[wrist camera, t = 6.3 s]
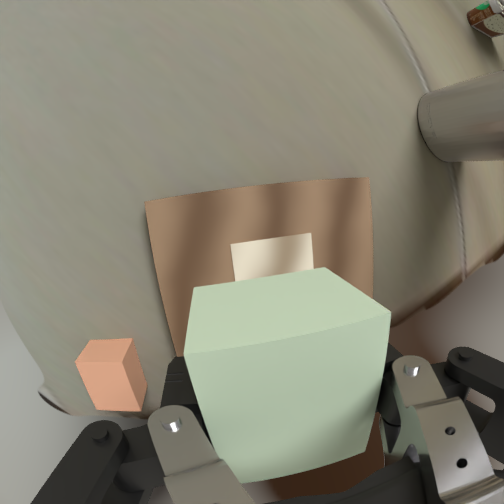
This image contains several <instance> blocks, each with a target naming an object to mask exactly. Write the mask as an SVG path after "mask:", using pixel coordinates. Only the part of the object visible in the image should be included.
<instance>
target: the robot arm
mask: <svg viewBox="0 0 504 504" xmlns="http://www.w3.org/2000/svg"><path fill="white" fill-rule="evenodd" d="M418 120H419V125H420V129H421V132H422V135H423V138H424V140H425V142H426V144H427V145H428V147H429V148H430V150H431V151H432V152H433V154H434V155H435V156H436V157H438V158H439V159H440V160H442V161H445V162H461V161H496V160H504V70H502V71H498V72H494V73H490V74H487V75H483V76H479V77H476V78H473V79H469V80H466V81H463V82H460V83H456V84H453V85H450V86H447V87H444V88H441V89H438V90H435V91H432V92H430V93H427V94H425V95H424V96H423V97H422V98H421V100H420V102H419V106H418ZM165 382H166V383H165V385H164V390H163V395H162V401H161V407H160V409H158V410H156V411H155V412H153V413H152V414H151V416H150V417H149V419H148V424H146V425H144V426H141V427H137V428H132V429H128V430H123V431H122V429H121V428H120V426H119V425H118V424H116V423H114V422H112V421H107V420H101V421H96V422H93V423H91V424H89V425H88V426H87V427H86V428H85V429H84V430H83V431H82V432H81V434H80V435H79V436H78V438H77V439H76V441H75V442H74V443H73V444H72V446H71V447H70V449H69V450H68V451H67V453H66V454H65V456H64V457H63V458H62V460H61V461H60V463H59V464H58V465H57V467H56V468H55V469H54V471H53V472H52V474H51V475H50V477H49V478H48V480H47V481H46V482H45V484H44V485H43V487H42V488H41V489H40V491H39V492H38V494H37V495H36V497H35V498H34V500H33V501H32V503H31V504H147V503H148V501H149V499H150V496H151V494H152V491H153V489H154V488H155V487H159V486H163V485H166V487H167V489H168V492H169V494H170V496H171V498H172V501H173V503H174V504H255V502H254V501H253V500H252V498H251V497H250V496H249V494H248V493H247V492H246V490H245V489H244V488H243V486H242V485H241V483H240V482H239V481H238V479H237V478H236V476H235V475H234V473H233V472H232V470H231V469H230V467H229V466H228V465H227V463H226V462H225V461H224V460H223V459H222V458H221V459H220V458H219V456H218V455H217V453H216V452H215V449H214V447H213V444H212V441H211V439H210V436H209V433H208V430H207V428H206V425H205V422H204V419H203V416H202V413H201V410H200V407H199V404H198V401H197V398H196V395H195V392H194V388H193V385H192V382H191V378H190V375H189V372H188V368H187V365H186V361H185V358H184V356H180V357H175V358H174V359H173V360H172V361H171V363H170V364H169V365H168V370H167V375H166V380H165ZM471 388H472V389H474V390H476V391H478V392H479V393H481V394H483V395H485V396H487V397H489V398H491V399H492V400H493V401H494V402H495V405H496V407H495V411H494V412H493V413H490V412H488V411H486V410H484V409H482V408H480V407H478V406H477V405H475V404H473V403H471V402H470V401H468V400H466V399H467V396H468V394H469V392H470V389H471ZM376 412H379V413H380V414H381V416H380V420H379V426H380V432H381V438H382V444H383V451H384V458H385V465H384V468H382V469H380V470H377V471H376V472H375V473H373V474H372V475H370V476H369V477H367V478H366V479H364V480H363V481H361V482H360V483H358V484H357V485H355V486H354V487H352V488H350V489H349V490H347V491H345V492H342V493H335V494H326V495H315V496H300V497H295V498H291V499H286V500H281V501H277V502H271V503H265V504H504V469H503V470H495V469H492V466H491V463H490V461H489V458H488V456H487V454H488V455H489V456H491V457H493V458H494V459H496V460H498V461H499V462H501V463H503V464H504V363H503V362H501V361H499V360H497V359H494V358H492V357H490V356H488V355H485V354H483V353H481V352H479V351H476V350H474V349H472V348H469V347H457V348H454V349H452V350H451V351H450V352H449V354H448V357H447V361H446V362H441V363H436V364H429V362H428V361H427V360H425V359H424V358H422V357H419V356H413V355H409V356H403V355H402V354H401V353H400V352H398V351H397V350H396V349H395V348H394V347H393V346H392V345H390V344H389V343H388V346H387V353H386V360H385V366H384V372H383V378H382V383H381V388H380V393H379V398H378V403H377V407H376V411H375V413H376Z"/></svg>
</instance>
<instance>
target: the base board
mask: <svg viewBox="0 0 504 504" xmlns="http://www.w3.org/2000/svg"><path fill="white" fill-rule="evenodd" d="M145 209H146V216H147V223H148V229H149V235H150V241H151V247H152V252H153V258H154V263H155V268H156V273H157V278H158V283H159V287H160V292H161V296H162V301H163V305H164V309H165V313H166V317H167V321H168V325H169V329H170V333H171V337H172V340H173V344H174V348H175V351H176V355H177V357H180V356H184V347H185V340H186V333H187V326H188V320H189V313H190V307H191V301H192V295H193V289H194V287H200V286H207V285H214V284H221V283H228V282H235V281H241V280H248V279H254V278H261V277H267V276H274V275H280V274H286V273H292V272H298V271H304V270H310V269H316V268H322V267H325V268H327V269H328V270H330V271H331V272H333V273H334V274H336V275H338V276H339V277H341V278H342V279H343V280H345V281H346V282H348V283H349V284H351V285H352V286H354V287H355V288H357V289H358V290H360V291H361V292H363V293H364V294H366V295H367V296H369V297H370V298H372V299H373V228H372V209H371V195H370V184H369V177H364V178H342V179H325V180H311V181H298V182H287V183H276V184H266V185H257V186H248V187H239V188H231V189H223V190H216V191H208V192H201V193H195V194H188V195H181V196H175V197H169V198H163V199H157V200H152V201H146V202H145Z"/></svg>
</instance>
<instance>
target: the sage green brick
mask: <svg viewBox="0 0 504 504" xmlns="http://www.w3.org/2000/svg"><path fill="white" fill-rule="evenodd" d="M390 320H391V311H389V310H388V309H386V308H385V307H383V306H382V305H380V304H379V303H377V302H376V301H375V300H373V299H372V298H370V297H369V296H367V295H366V294H364V293H363V292H361V291H360V290H358V289H357V288H355V287H354V286H352V285H351V284H349V283H348V282H346V281H345V280H343V279H342V278H341V277H339V276H338V275H336V274H334V273H333V272H331V271H330V270H328V269H327V268H325V267H322V268H316V269H310V270H304V271H298V272H292V273H286V274H280V275H274V276H267V277H261V278H254V279H248V280H241V281H235V282H228V283H221V284H214V285H207V286H200V287H194V289H193V295H192V301H191V307H190V313H189V320H188V326H187V333H186V340H185V347H184V358H185V361H186V365H187V368H188V372H189V375H190V378H191V382H192V385H193V388H194V392H195V395H196V398H197V401H198V404H199V407H200V410H201V413H202V416H203V419H204V422H205V425H206V428H207V430H208V433H209V436H210V439H211V441H212V444H213V447H214V449H215V452H216V453H217V455H218V456H219V458H220V459H221V458H222V459H223V460H224V461H225V462H226V463H227V465H228V466H229V467H230V469H231V470H232V472H233V473H234V475H235V476H236V478H237V479H238V481H239V482H240V483H249V482H255V481H261V480H266V479H272V478H277V477H282V476H286V475H291V474H295V473H299V472H303V471H307V470H311V469H314V468H318V467H321V466H324V465H328V464H331V463H334V462H337V461H340V460H343V459H346V458H349V457H351V456H354V455H357V454H359V453H362V452H364V451H365V449H366V445H367V442H368V438H369V435H370V431H371V427H372V423H373V420H374V415H375V411H376V407H377V403H378V398H379V393H380V388H381V383H382V378H383V372H384V366H385V360H386V353H387V346H388V338H389V329H390Z"/></svg>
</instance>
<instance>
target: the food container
mask: <svg viewBox="0 0 504 504" xmlns="http://www.w3.org/2000/svg"><path fill="white" fill-rule="evenodd" d="M467 18H468V21H469V23H470V25H471V27H473V28H475V29H477V30H479V31H480V32H482V33H484V34H486V35H487V36H489V37H491V38H493V37H497V36H500V35H504V1H503V0H488V1H486V2H484V3H483V4H481V5H479V6H478V7H476V8H474V9H473V10H471V11H469V12H468V13H467Z"/></svg>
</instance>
